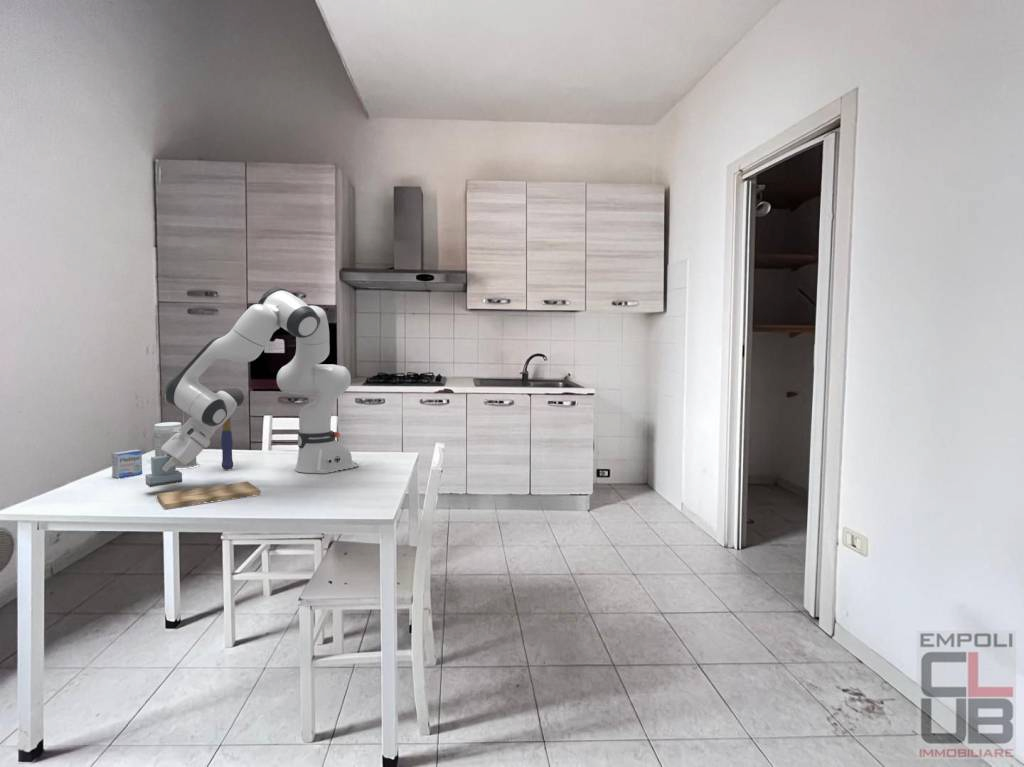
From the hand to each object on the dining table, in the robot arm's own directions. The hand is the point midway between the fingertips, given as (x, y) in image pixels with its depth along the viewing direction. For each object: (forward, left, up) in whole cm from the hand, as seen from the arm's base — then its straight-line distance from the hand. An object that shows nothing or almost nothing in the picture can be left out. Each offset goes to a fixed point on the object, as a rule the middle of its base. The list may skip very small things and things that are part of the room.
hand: (161, 468), depth 187 cm
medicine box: (+6, -31, -8) cm, 33 cm away
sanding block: (-1, 0, -5) cm, 5 cm away
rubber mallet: (-24, -21, -8) cm, 33 cm away
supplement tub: (-10, -50, -8) cm, 52 cm away
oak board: (-10, +15, -7) cm, 19 cm away
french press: (-13, -35, -8) cm, 39 cm away
